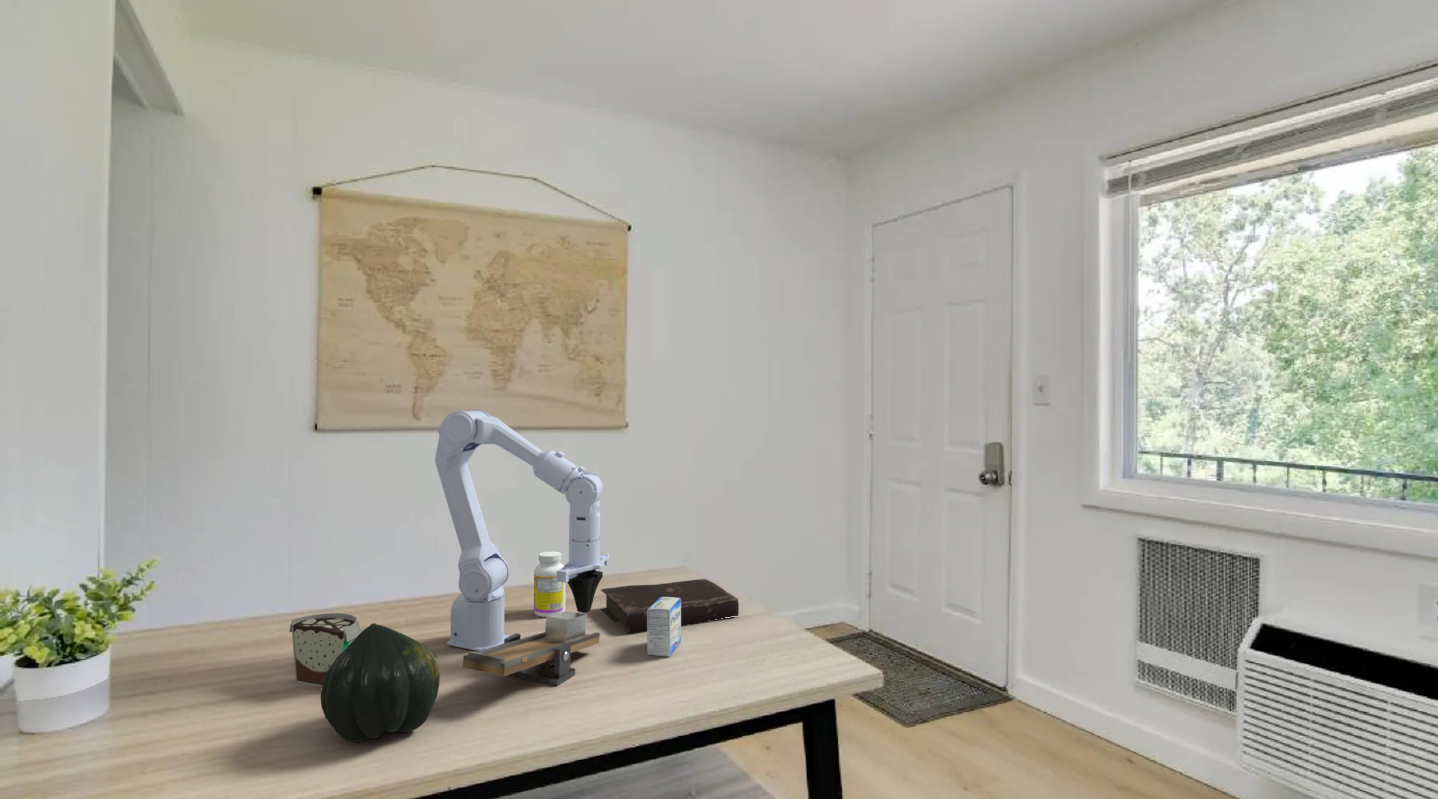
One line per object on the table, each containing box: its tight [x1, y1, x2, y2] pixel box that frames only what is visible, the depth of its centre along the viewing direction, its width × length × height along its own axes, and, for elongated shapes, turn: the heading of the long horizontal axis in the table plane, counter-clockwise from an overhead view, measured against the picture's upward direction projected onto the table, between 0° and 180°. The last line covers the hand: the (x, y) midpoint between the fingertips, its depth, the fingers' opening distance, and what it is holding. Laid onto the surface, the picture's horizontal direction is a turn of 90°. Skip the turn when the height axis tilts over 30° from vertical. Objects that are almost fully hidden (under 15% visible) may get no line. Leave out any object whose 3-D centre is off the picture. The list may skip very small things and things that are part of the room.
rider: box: [544, 610, 587, 643], centre depth 125 cm, size 4×6×4 cm
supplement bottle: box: [533, 550, 567, 618], centre depth 150 cm, size 7×7×13 cm
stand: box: [504, 633, 576, 687], centre depth 118 cm, size 12×5×6 cm, turn 67°
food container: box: [288, 612, 362, 688], centre depth 115 cm, size 12×6×10 cm, turn 71°
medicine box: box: [646, 597, 682, 658], centre depth 130 cm, size 8×4×9 cm, turn 168°
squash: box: [319, 622, 441, 743], centre depth 99 cm, size 14×15×15 cm
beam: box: [462, 631, 601, 677], centre depth 118 cm, size 8×26×2 cm, turn 157°
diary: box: [600, 578, 740, 635], centre depth 152 cm, size 19×25×5 cm
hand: (583, 611), depth 131 cm, fingers closed
